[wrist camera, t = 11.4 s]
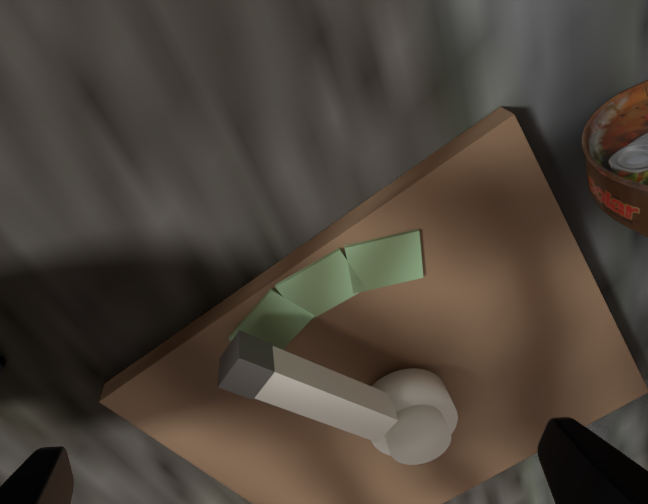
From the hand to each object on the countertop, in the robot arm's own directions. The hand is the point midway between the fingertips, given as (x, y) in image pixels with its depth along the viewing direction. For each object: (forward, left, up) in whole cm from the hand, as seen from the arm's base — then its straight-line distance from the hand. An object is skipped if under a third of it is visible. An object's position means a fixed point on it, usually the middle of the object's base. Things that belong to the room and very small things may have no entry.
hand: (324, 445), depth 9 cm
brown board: (-2, -13, -13) cm, 19 cm away
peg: (-3, -9, -11) cm, 15 cm away
